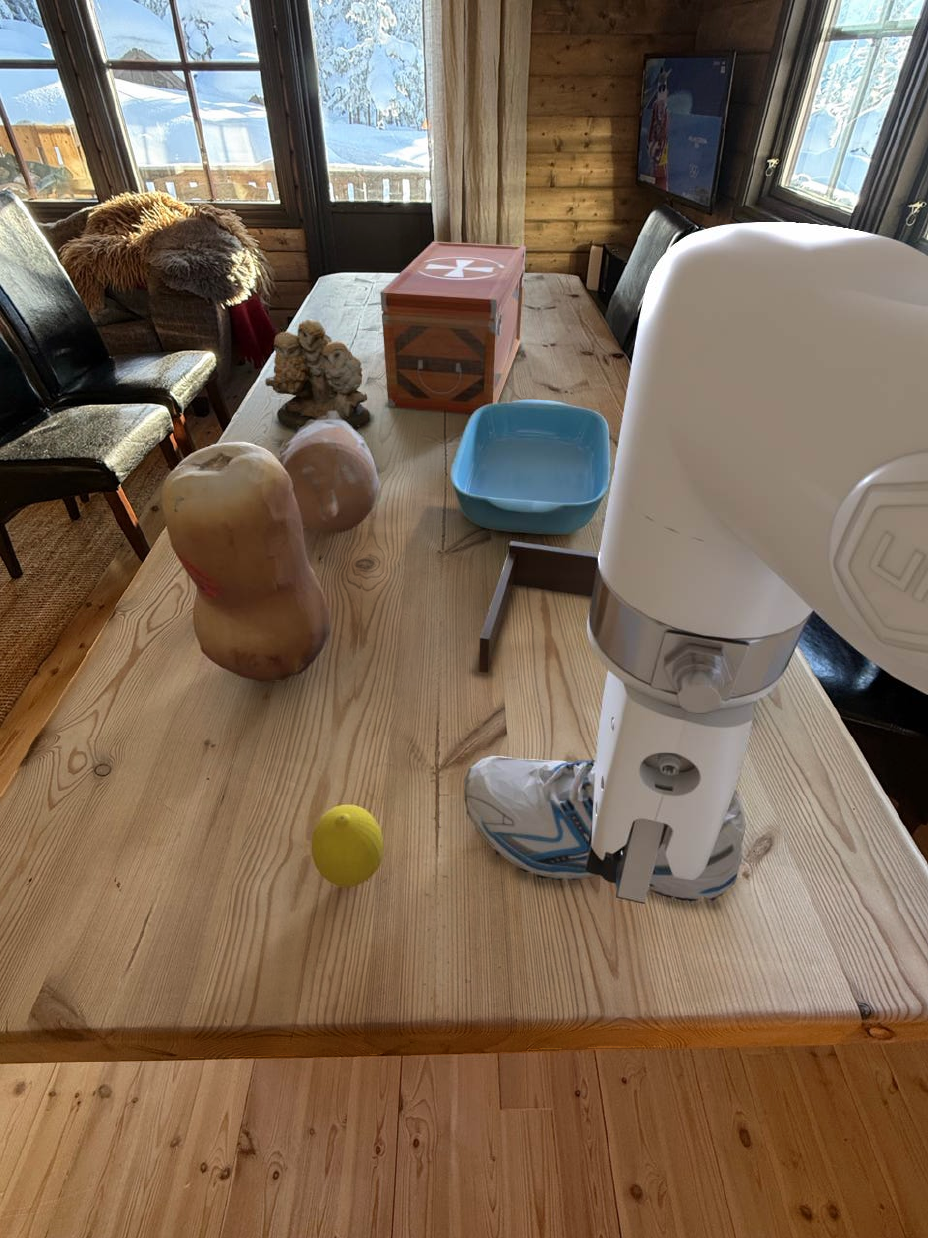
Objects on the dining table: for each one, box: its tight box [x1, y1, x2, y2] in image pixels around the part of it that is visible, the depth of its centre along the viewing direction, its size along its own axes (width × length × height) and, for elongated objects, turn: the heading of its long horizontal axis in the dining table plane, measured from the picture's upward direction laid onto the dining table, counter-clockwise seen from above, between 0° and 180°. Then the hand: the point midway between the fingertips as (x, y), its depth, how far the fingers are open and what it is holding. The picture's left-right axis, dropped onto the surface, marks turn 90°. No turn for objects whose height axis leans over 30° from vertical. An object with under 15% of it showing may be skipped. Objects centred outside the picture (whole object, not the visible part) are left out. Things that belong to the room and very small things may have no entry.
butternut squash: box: [161, 441, 331, 683], centre depth 64 cm, size 14×13×25 cm
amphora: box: [277, 411, 380, 534], centre depth 93 cm, size 14×16×30 cm
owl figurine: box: [264, 318, 371, 431], centre depth 115 cm, size 18×12×17 cm, turn 87°
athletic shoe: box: [463, 755, 747, 902], centre depth 53 cm, size 10×23×12 cm, turn 82°
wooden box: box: [379, 241, 527, 415], centre depth 132 cm, size 20×41×20 cm, turn 169°
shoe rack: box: [478, 540, 600, 674], centre depth 74 cm, size 17×28×6 cm, turn 76°
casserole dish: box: [450, 399, 611, 536], centre depth 100 cm, size 37×22×7 cm, turn 171°
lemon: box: [311, 804, 384, 888], centre depth 52 cm, size 6×6×8 cm
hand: (615, 860), depth 37 cm, fingers closed
